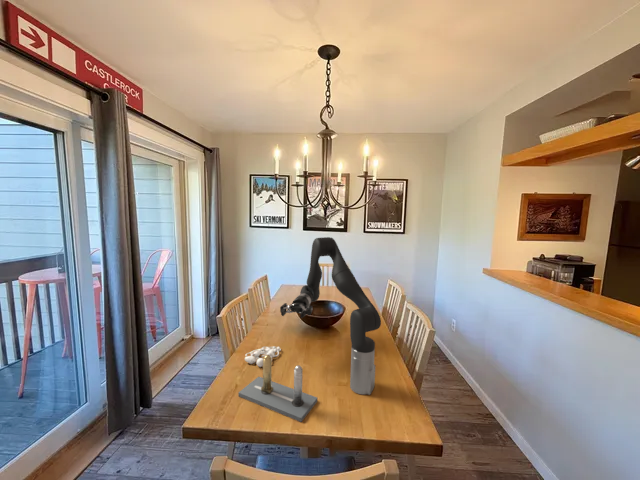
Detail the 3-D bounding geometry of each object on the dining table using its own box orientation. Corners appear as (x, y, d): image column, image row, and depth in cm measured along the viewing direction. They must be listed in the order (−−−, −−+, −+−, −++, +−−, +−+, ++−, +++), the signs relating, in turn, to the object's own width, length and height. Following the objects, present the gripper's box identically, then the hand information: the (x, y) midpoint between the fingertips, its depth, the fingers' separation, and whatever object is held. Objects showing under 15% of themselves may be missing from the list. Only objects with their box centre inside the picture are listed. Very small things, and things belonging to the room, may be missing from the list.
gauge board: (317, 401, 107) (317, 397, 107) (301, 422, 96) (301, 417, 96) (258, 379, 119) (258, 376, 119) (238, 396, 109) (238, 392, 109)
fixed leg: (303, 401, 104) (304, 365, 103) (299, 406, 102) (299, 369, 100) (296, 399, 106) (296, 362, 104) (292, 403, 103) (292, 366, 101)
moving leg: (273, 389, 110) (274, 354, 109) (268, 394, 108) (268, 358, 106) (265, 386, 112) (265, 352, 111) (260, 390, 109) (260, 355, 108)
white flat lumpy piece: (265, 347, 150) (265, 339, 150) (288, 352, 143) (287, 344, 143) (239, 363, 133) (238, 355, 133) (263, 369, 126) (262, 360, 126)
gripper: (288, 294, 140) (276, 305, 125) (316, 296, 137) (307, 308, 122) (287, 308, 141) (276, 321, 125) (315, 311, 138) (307, 324, 123)
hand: (291, 314), depth 124 cm, fingers open, 8 cm apart
